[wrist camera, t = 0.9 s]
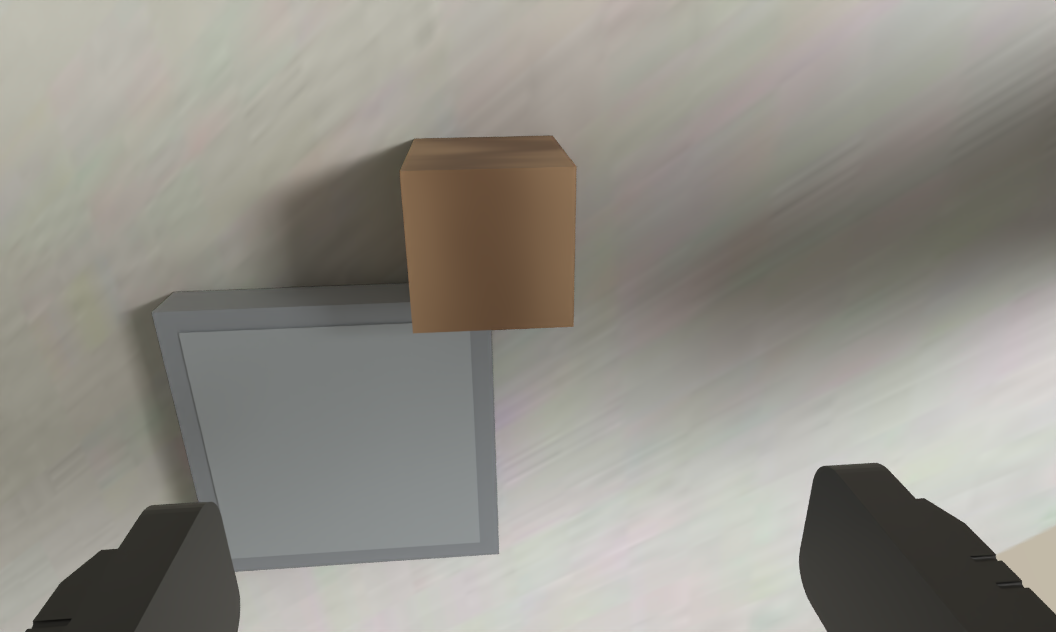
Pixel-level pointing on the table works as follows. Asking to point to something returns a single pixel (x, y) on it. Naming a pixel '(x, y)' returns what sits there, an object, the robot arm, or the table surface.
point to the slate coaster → (333, 424)
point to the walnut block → (489, 233)
